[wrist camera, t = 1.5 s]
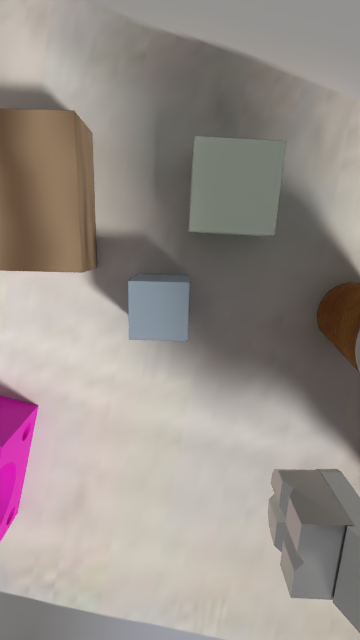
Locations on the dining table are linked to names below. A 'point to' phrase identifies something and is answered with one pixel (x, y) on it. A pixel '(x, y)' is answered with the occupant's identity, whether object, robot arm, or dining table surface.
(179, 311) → the slate block
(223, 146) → the sage block
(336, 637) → the dining table surface
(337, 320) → the disposable coffee cup
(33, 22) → the dining table surface
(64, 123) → the walnut pedestal
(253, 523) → the dining table surface
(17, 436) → the toy block
